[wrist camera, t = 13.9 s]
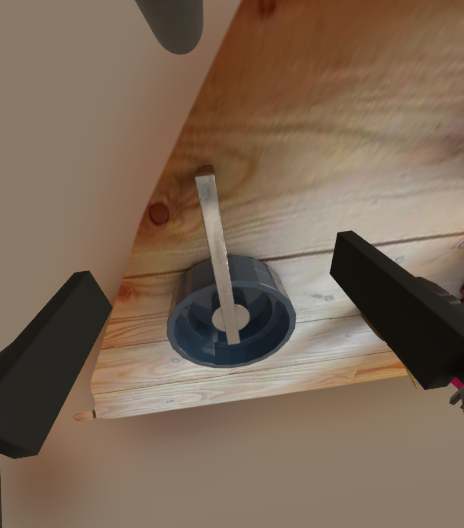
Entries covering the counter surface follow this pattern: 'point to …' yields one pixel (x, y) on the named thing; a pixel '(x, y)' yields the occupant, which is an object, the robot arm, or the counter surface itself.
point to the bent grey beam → (220, 261)
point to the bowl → (251, 336)
